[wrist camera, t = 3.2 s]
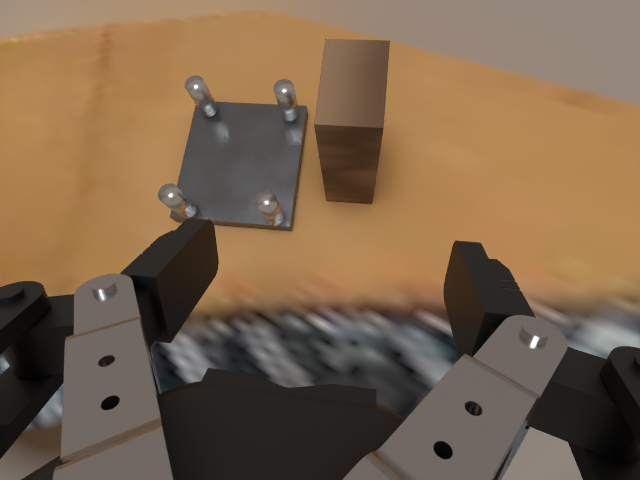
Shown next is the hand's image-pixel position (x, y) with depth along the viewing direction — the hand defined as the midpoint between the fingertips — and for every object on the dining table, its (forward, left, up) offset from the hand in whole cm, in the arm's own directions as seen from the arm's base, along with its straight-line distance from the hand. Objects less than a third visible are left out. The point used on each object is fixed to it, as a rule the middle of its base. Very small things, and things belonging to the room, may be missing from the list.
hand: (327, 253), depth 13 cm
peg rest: (-9, +10, -14) cm, 19 cm away
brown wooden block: (0, +10, -14) cm, 17 cm away
